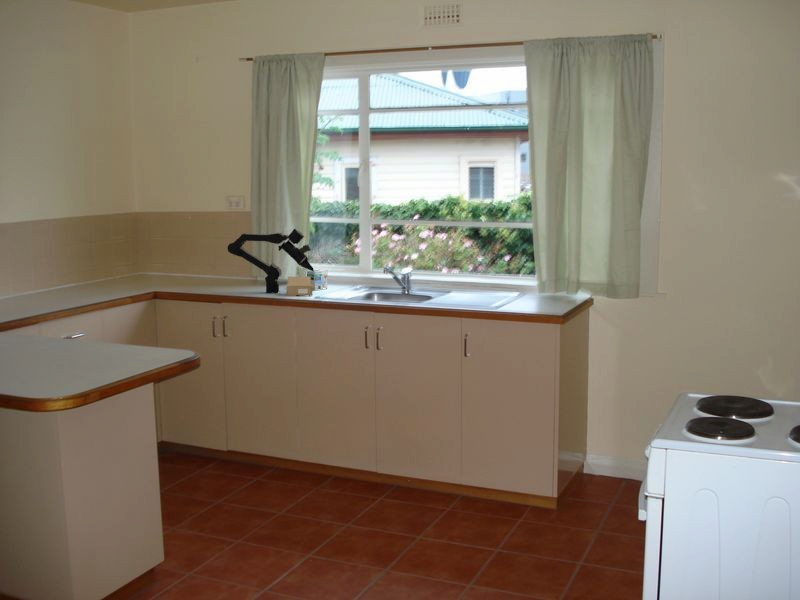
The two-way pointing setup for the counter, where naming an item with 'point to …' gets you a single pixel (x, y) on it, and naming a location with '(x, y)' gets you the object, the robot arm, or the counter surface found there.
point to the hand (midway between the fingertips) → (313, 270)
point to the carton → (299, 290)
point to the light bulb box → (318, 279)
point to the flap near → (299, 281)
